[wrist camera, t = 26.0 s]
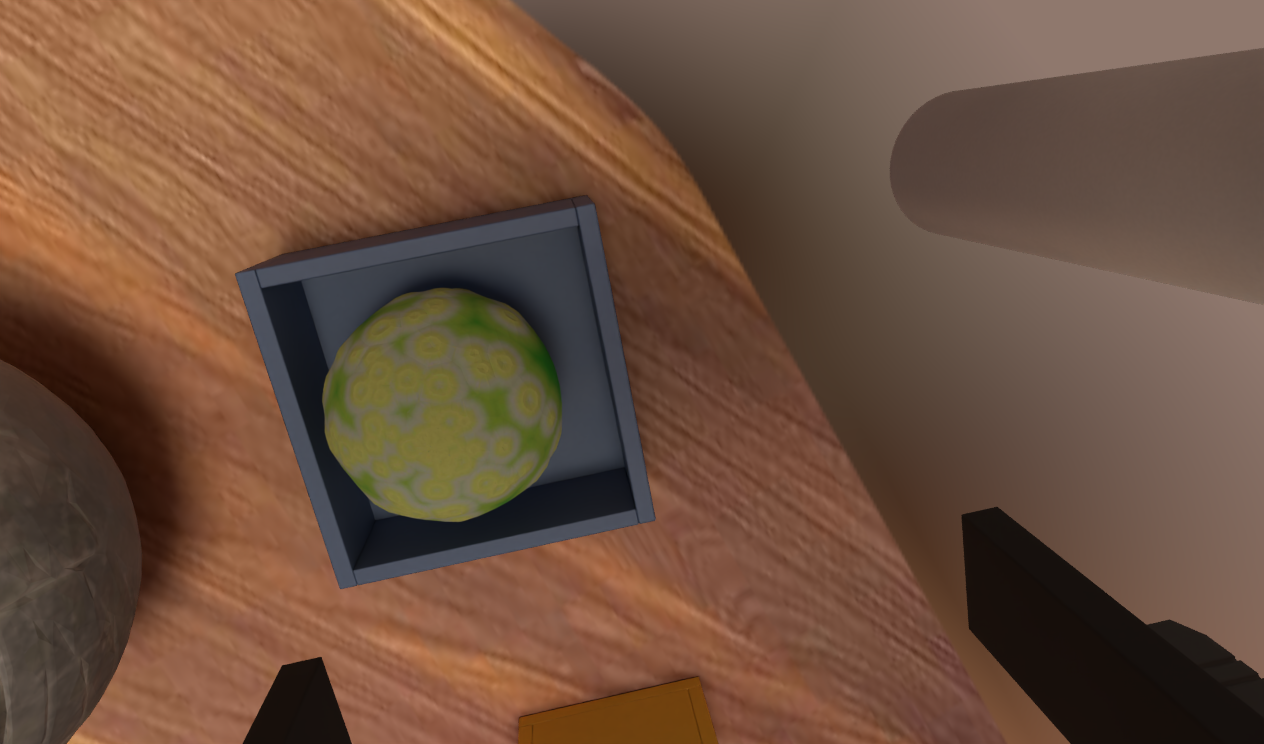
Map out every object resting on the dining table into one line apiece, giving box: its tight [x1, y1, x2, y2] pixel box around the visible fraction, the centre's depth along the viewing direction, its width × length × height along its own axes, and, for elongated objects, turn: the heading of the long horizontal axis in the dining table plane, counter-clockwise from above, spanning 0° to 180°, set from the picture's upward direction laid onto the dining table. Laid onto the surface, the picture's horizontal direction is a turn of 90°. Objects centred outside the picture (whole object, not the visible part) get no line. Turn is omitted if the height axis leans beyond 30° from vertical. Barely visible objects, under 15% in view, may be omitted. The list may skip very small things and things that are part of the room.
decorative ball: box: [322, 288, 562, 522], centre depth 33 cm, size 10×10×10 cm
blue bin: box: [235, 195, 656, 589], centre depth 36 cm, size 15×15×6 cm
